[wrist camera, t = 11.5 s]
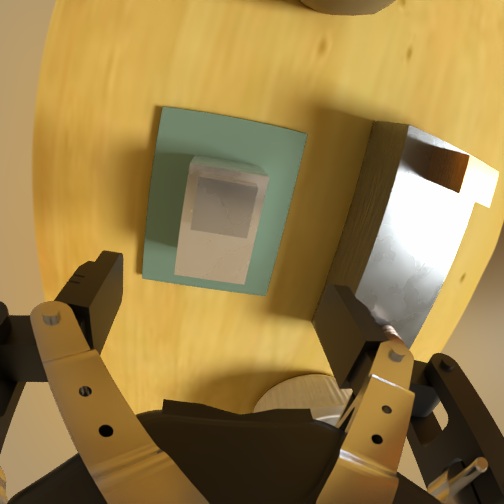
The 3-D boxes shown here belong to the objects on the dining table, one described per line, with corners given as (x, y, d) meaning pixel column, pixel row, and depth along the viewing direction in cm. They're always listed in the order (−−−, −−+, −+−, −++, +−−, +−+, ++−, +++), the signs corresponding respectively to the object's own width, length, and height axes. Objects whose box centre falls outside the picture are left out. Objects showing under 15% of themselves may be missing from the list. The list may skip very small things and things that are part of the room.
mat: (164, 106, 19) (162, 106, 19) (305, 133, 21) (307, 134, 20) (143, 274, 24) (142, 278, 24) (264, 292, 26) (265, 296, 25)
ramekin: (361, 352, 30) (386, 399, 24) (349, 419, 36) (365, 460, 30) (236, 376, 30) (242, 432, 24) (252, 439, 36) (258, 483, 29)
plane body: (373, 120, 21) (445, 130, 13) (446, 152, 22) (518, 175, 14) (311, 321, 28) (340, 391, 20) (382, 326, 29) (421, 385, 21)
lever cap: (195, 154, 20) (188, 165, 16) (260, 166, 21) (272, 180, 16) (180, 248, 23) (172, 282, 18) (240, 257, 24) (245, 292, 19)
